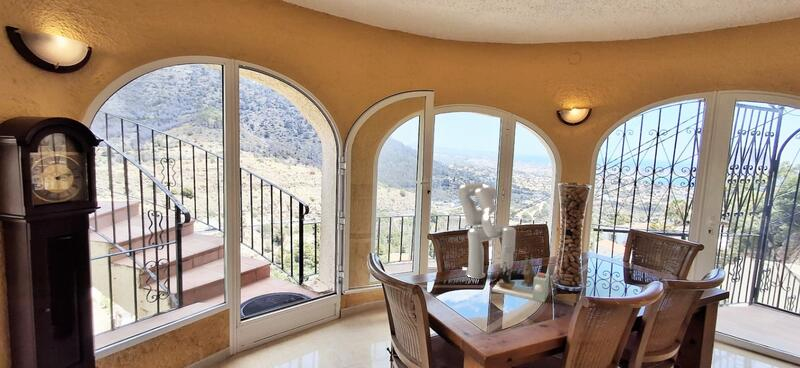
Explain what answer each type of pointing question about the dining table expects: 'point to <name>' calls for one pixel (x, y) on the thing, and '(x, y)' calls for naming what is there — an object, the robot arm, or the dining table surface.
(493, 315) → the dining table surface
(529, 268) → the worn brown figurine
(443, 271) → the dining table surface
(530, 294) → the rail base
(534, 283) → the gauge cabinet
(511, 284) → the carriage
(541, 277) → the button
